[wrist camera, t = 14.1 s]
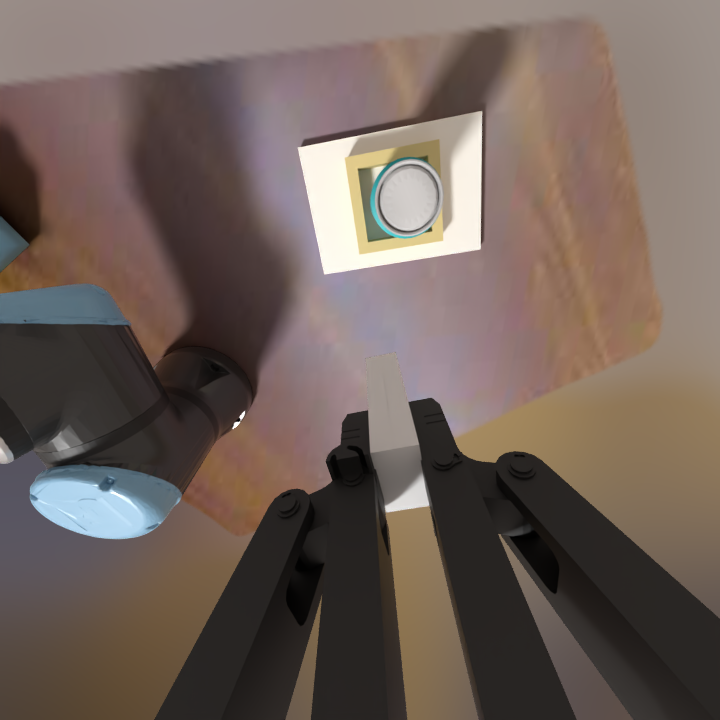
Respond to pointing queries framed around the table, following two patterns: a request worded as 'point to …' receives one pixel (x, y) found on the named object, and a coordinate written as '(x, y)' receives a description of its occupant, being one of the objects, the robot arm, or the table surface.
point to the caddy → (356, 179)
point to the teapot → (9, 244)
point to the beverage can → (407, 197)
